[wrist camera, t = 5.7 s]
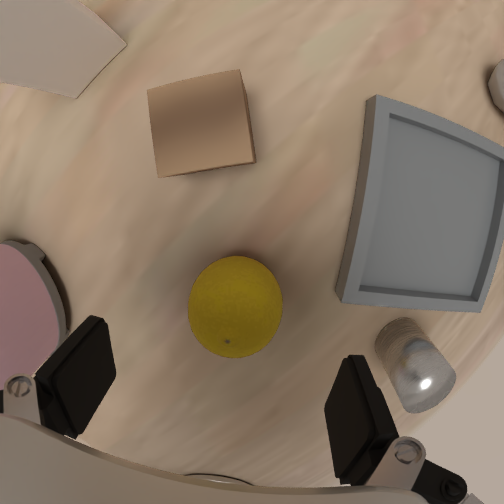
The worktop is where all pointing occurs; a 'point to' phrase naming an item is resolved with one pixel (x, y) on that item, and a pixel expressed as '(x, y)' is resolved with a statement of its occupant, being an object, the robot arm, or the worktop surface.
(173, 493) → the robot arm
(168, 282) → the worktop surface
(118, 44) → the milk
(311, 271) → the worktop surface
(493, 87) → the salt shaker
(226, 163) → the walnut block
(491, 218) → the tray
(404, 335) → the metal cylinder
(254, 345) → the lemon
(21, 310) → the blender
